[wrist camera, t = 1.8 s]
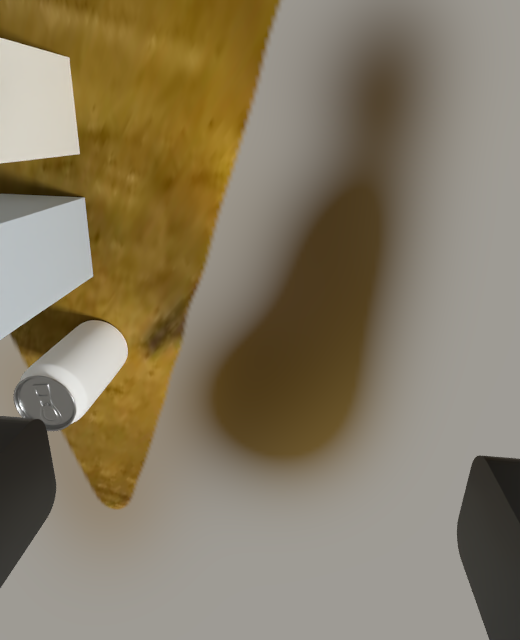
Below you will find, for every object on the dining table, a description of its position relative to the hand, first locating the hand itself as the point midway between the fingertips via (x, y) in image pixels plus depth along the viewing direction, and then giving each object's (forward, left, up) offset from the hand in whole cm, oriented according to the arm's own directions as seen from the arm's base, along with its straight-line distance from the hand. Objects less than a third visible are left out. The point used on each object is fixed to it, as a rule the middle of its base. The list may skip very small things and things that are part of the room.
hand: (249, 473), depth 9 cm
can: (+17, -21, -38) cm, 47 cm away
